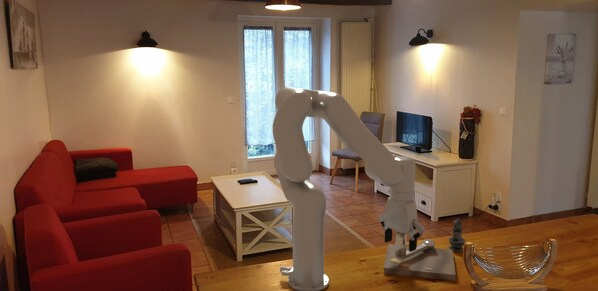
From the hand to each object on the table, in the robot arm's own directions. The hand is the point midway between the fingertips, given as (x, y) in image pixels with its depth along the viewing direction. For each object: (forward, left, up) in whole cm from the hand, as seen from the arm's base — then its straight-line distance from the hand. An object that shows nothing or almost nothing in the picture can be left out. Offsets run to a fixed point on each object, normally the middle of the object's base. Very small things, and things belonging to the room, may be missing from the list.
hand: (400, 245), depth 154 cm
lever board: (+6, +5, -8) cm, 11 cm away
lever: (+5, +7, -5) cm, 9 cm away
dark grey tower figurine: (+19, +21, -8) cm, 30 cm away
